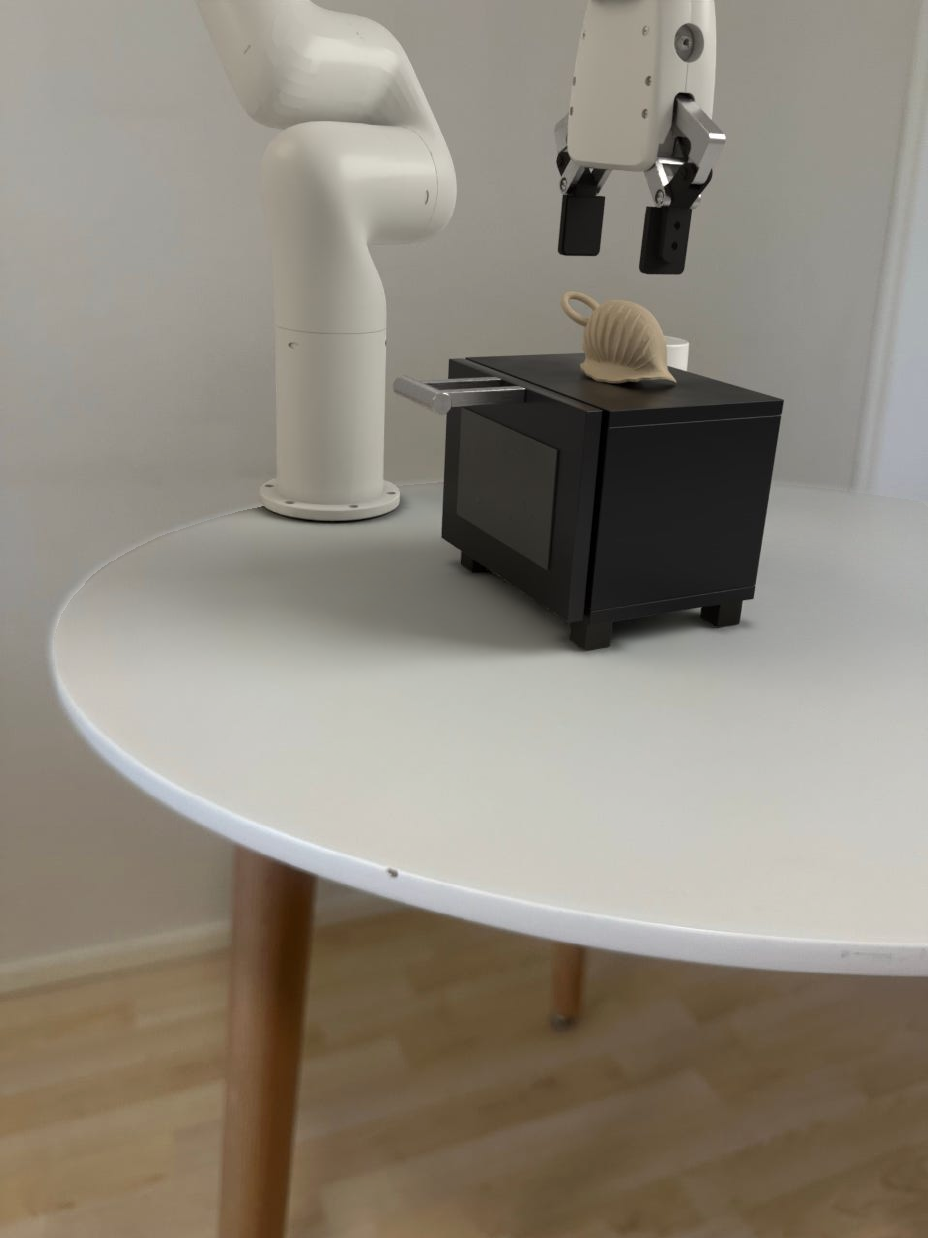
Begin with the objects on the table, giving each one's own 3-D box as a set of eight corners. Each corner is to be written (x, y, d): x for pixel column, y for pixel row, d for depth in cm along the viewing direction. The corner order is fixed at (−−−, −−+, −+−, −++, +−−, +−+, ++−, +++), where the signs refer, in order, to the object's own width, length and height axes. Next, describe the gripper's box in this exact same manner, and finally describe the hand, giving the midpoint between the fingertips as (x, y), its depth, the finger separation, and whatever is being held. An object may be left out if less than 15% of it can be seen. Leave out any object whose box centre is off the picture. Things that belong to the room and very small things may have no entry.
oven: (586, 654, 75) (610, 410, 69) (455, 562, 91) (464, 357, 85) (749, 625, 81) (784, 399, 75) (600, 544, 97) (619, 351, 91)
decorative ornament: (641, 390, 76) (650, 307, 74) (547, 370, 81) (553, 291, 79) (678, 384, 78) (687, 303, 76) (584, 365, 84) (591, 289, 82)
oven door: (468, 639, 71) (480, 414, 66) (354, 547, 86) (356, 359, 81) (583, 620, 74) (603, 406, 69) (454, 536, 89) (463, 355, 84)
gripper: (793, -30, 65) (745, 282, 72) (620, -10, 79) (593, 250, 86) (687, -47, 62) (647, 281, 69) (526, -23, 76) (506, 248, 83)
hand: (617, 263), depth 77 cm, fingers open, 9 cm apart
